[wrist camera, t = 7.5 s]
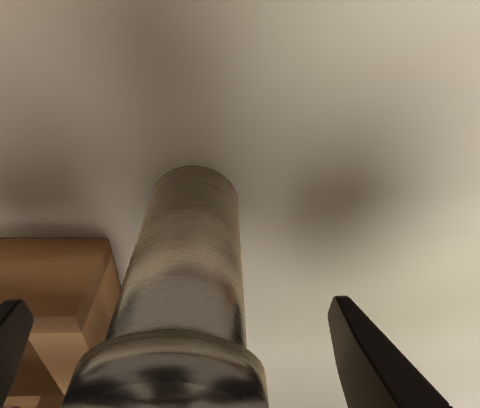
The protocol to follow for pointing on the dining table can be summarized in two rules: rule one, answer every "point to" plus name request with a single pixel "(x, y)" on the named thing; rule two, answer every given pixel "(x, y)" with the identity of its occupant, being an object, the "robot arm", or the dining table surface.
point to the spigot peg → (178, 309)
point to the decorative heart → (20, 406)
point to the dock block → (57, 309)
